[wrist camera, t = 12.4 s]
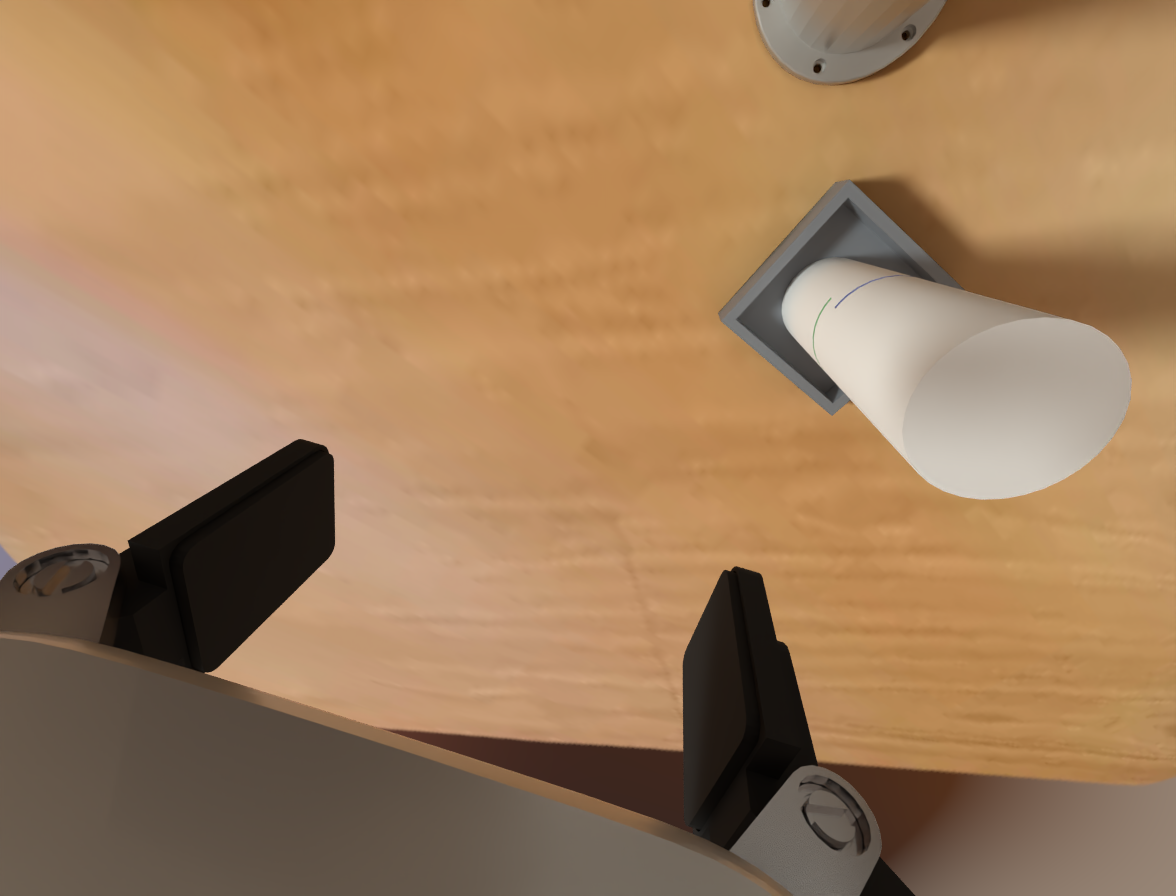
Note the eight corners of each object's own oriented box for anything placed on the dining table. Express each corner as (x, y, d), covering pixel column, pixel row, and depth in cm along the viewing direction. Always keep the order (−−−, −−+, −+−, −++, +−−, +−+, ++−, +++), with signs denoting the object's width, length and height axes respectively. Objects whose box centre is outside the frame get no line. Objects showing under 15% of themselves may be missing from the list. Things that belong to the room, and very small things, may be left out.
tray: (835, 182, 37) (849, 179, 34) (947, 289, 39) (970, 295, 36) (718, 313, 43) (721, 321, 40) (821, 401, 45) (831, 415, 42)
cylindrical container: (894, 302, 39) (1173, 419, 17) (817, 363, 42) (970, 530, 20) (838, 236, 38) (1062, 270, 16) (763, 304, 41) (862, 412, 19)
